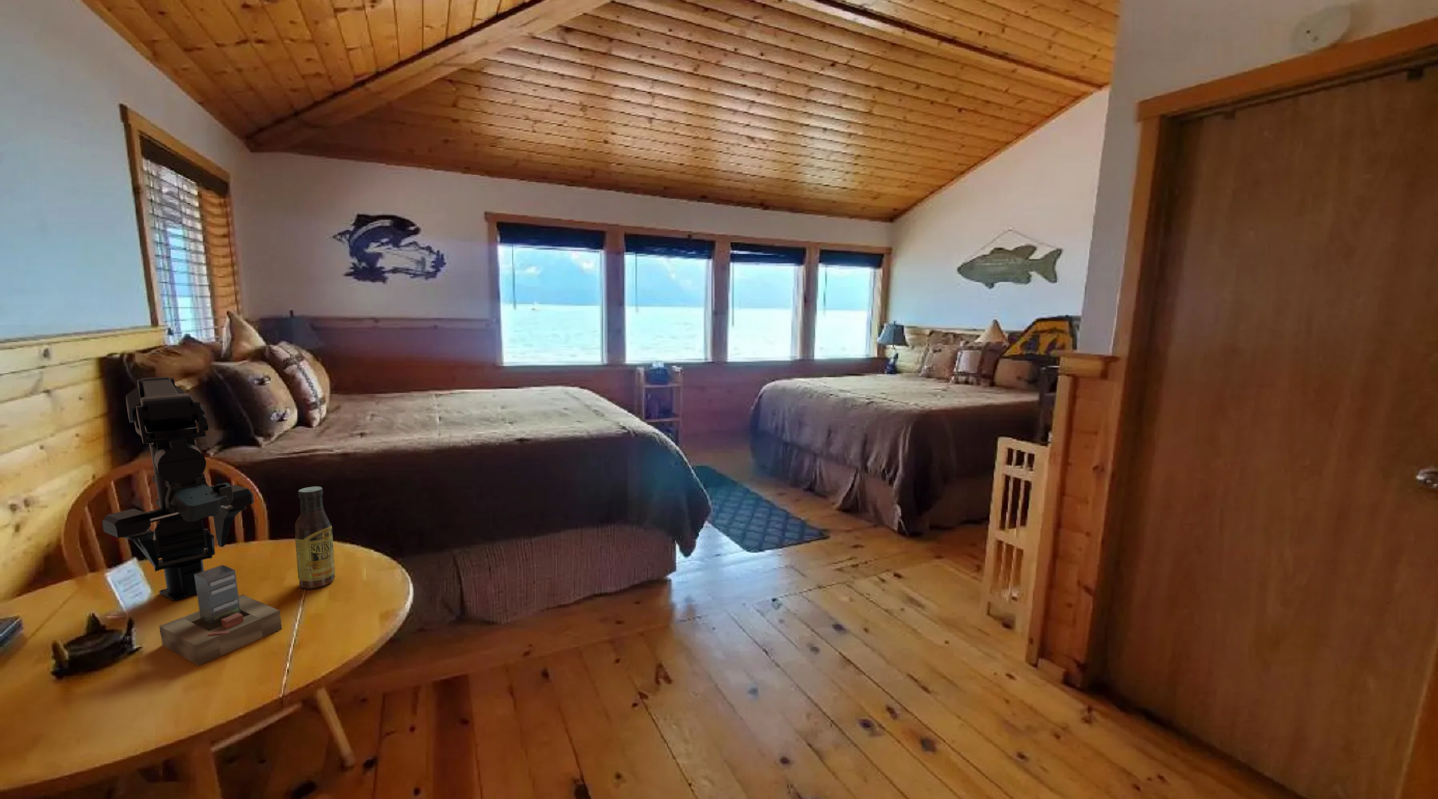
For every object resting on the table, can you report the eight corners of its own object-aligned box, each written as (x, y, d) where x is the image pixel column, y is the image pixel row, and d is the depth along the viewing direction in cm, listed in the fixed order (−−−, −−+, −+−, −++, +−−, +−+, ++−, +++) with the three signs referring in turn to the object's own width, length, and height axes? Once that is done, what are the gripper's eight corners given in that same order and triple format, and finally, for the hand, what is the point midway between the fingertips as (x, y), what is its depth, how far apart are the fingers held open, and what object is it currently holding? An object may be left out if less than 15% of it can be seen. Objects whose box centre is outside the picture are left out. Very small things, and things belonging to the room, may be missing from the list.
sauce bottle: (317, 592, 118) (307, 496, 114) (291, 588, 119) (280, 493, 115) (344, 577, 124) (335, 485, 120) (319, 574, 125) (309, 483, 122)
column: (199, 617, 100) (193, 573, 99) (227, 607, 104) (221, 564, 103) (213, 624, 98) (207, 580, 97) (241, 613, 102) (235, 570, 101)
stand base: (162, 645, 99) (158, 619, 98) (245, 612, 110) (242, 588, 109) (200, 666, 94) (196, 639, 93) (283, 629, 104) (280, 605, 103)
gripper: (125, 492, 89) (141, 589, 91) (265, 462, 105) (275, 545, 108) (93, 481, 94) (109, 574, 96) (232, 454, 110) (242, 534, 113)
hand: (190, 556), depth 103 cm, fingers open, 9 cm apart
